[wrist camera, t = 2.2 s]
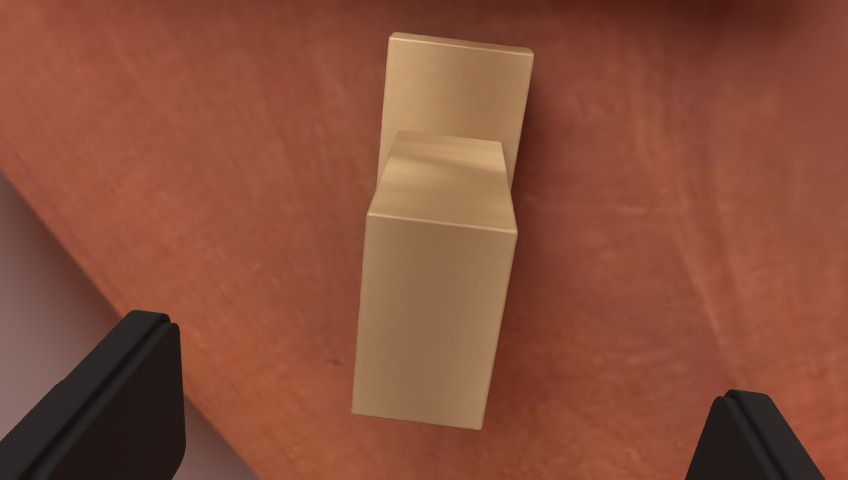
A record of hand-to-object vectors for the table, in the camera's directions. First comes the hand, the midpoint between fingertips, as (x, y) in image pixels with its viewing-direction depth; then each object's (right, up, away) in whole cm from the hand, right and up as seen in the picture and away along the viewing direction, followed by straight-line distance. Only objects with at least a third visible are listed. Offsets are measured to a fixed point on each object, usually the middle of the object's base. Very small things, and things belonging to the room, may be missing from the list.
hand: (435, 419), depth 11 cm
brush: (0, +5, +11) cm, 12 cm away
